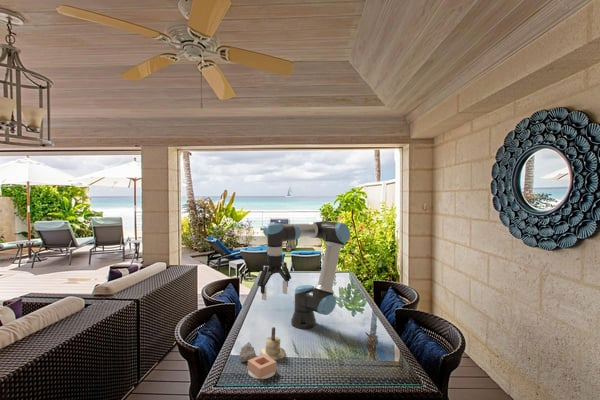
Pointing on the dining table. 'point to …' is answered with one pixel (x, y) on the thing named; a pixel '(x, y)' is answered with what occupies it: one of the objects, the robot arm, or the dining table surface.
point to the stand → (273, 347)
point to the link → (261, 365)
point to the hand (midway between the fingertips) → (274, 296)
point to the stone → (247, 352)
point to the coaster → (261, 377)
